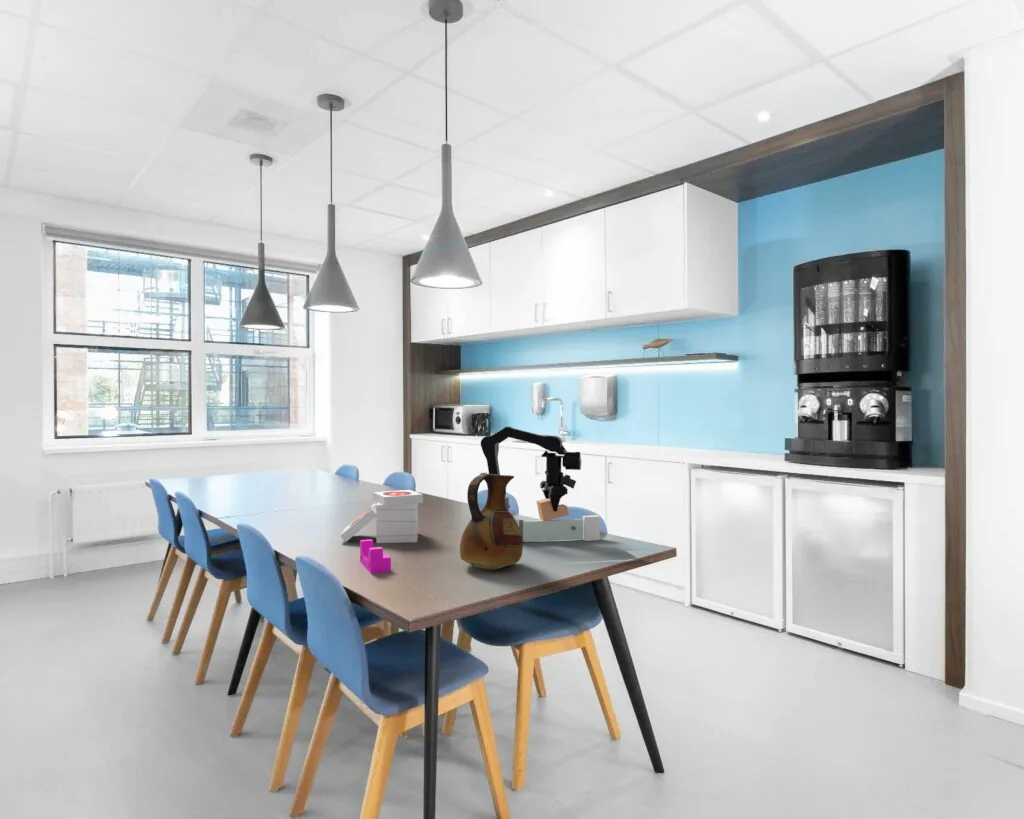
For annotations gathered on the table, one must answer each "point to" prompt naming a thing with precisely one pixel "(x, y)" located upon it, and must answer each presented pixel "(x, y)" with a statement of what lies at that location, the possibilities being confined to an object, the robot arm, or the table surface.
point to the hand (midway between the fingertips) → (553, 510)
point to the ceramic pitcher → (491, 527)
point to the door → (551, 530)
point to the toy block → (374, 557)
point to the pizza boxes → (390, 517)
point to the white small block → (588, 527)
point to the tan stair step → (550, 510)
